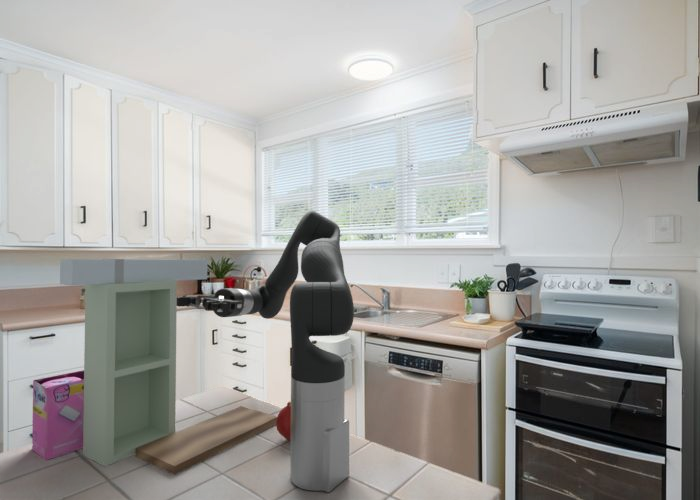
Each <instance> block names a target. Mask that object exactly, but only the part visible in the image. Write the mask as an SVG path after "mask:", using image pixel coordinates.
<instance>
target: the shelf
mask: <svg viewBox="0 0 700 500" xmlns="http://www.w3.org/2000/svg"><path fill="white" fill-rule="evenodd" d="M84 286H85V289H84V290H85V293H84V353H83V354H84V357H83V358H84V359H83V360H84V365H83V366H84V367H83V368H84V369H83V370H84V419H83V448H82V455H83V456H85V457H87V458H89V459H90V460H91V461H93V462H94V461H95V462H96V463H98V464H99V465H102V467H107V466H109V465H113V464H114V463H117V462H119V461H122V460H124V459H126V458H129V457H131V456H135V449H136V448H138V447H140V446H143V445H145V444H148V443H150V442H153V441H155V440H158V439H160V438H163V437H165V436H168V435H170V434H173V433H175V432H176V406H177V405H176V396H177V395H176V394H177V393H176V390H177V386H176V385H177V383H176V382H177V307H178V306H177V297H178V281H157V282H136V283H120V284H92V285H84Z"/></svg>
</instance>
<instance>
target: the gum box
mask: <svg viewBox="0 0 700 500" xmlns="http://www.w3.org/2000/svg"><path fill="white" fill-rule="evenodd" d="M83 419H84V369H83V370H78V371H73V372H68V373H63V374H58V375H53V376H49V377H42V378H37V379H34V380H33V381H32V437H31V439H32V440H31V443H32V444H33V445H31V450H33V451H34V452H35V453H36V454H37V455H39V456H40V457H41V458H43V459H44V460H45V461H48V460H51V459H53V458H57V457H60V456H62V455H66V454H69V453H73V452H76V451H77V450H82V449H83Z"/></svg>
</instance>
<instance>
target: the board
mask: <svg viewBox="0 0 700 500" xmlns="http://www.w3.org/2000/svg"><path fill="white" fill-rule="evenodd" d="M277 416H278V415H277ZM277 416H276V415H273V414H269V413H266V412H264V411H259V410H257V409H256V410H255V409H252V408H248V407H247V406H246V407H245V406H241V405H240V406H238V407H235V408H233V409H231V410H228V411H225V412H223V413H221V414H218V415H215V416H213V417H210V418H207V419H204V420H203V421H201V422H198V423H195V424H192V425H190V426H188V427H186V428H183V429H181V430H179V431H175V433H173V434H170V435H168V436H165V437H163V438H160V439H158V440H155V441H153V442H150V443H148V444H145V445H143V446H140V447H138V448H136V449H135V454H134V457H136V458H138V459H140V460H142V461H144V462H146V463H148V464H150V465H152V466H155V467H157V468H159V469H161V470H162V471H163V470H164V471H166V472H167V473H170V474H172V475H174V476H175V475H178V474H179V473H181V472H183V471H186V470H187V469H189V468H191V467H193V466H195V465H197V464H199V463H201V462H203V461H205V460H207V459H209V458H212V457H213V456H215V455H218V454H219V453H221V452H224V451H225V450H227V449H229V448H232V447H234V446H235V445H238V444H239V443H241V442H243V441H246V440H247V439H249V438H251V437H253V436H255V435H258V434H260V433H262V432H263V431H266V430H267V429H270V428H271V427H274V426H276V420H277Z"/></svg>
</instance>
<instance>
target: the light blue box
mask: <svg viewBox="0 0 700 500" xmlns="http://www.w3.org/2000/svg"><path fill="white" fill-rule="evenodd" d="M59 267H60V268H59V269H60V272H59V273H60V274H59V285H60V286H61V285H64V286H85V285H92V284H120V283H136V282H157V281H177V282H178V281H179V282H180V281H190V280H191V281H196V280H197V281H199V280H208V259H165V258H163V259H160V258H159V259H157V258H156V259H151V258H150V259H147V258H146V259H134V258H133V259H129V258H128V259H125V258H118V259H117V258H101V259H99V258H95V259H91V258H87V259H85V258H84V259H83V258H82V259H81V258H80V259H79V258H78V259H77V258H75V259H74V258H72V259H71V258H67V259H66V258H61V259H60V266H59Z"/></svg>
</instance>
